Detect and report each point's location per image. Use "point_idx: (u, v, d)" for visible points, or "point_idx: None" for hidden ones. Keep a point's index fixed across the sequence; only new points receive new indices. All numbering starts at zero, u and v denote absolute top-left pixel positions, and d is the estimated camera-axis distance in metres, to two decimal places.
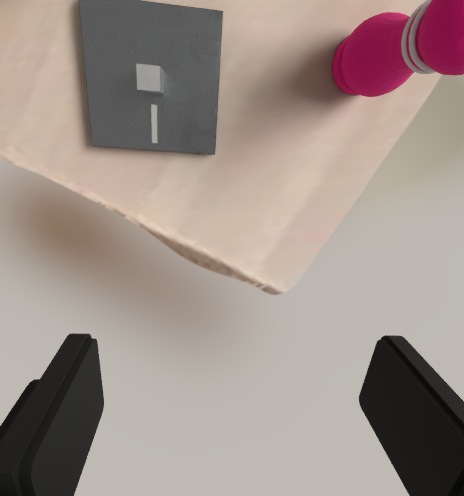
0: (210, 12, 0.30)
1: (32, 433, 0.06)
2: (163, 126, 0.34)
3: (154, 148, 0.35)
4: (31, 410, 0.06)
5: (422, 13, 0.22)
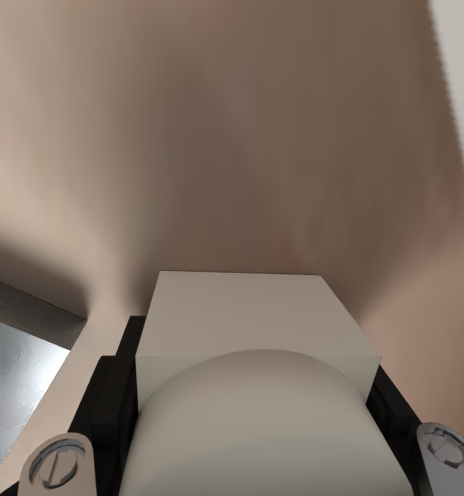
0: None
1: (123, 394, 0.07)
2: None
3: None
4: (117, 376, 0.07)
5: None
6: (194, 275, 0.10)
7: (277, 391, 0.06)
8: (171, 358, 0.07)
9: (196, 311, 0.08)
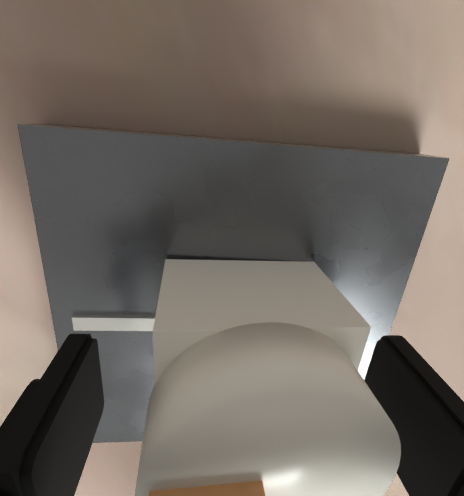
0: None
1: (33, 433, 0.06)
2: (125, 341, 0.12)
3: (57, 319, 0.12)
4: (32, 410, 0.06)
5: None
6: (197, 263, 0.11)
7: (282, 355, 0.06)
8: (184, 332, 0.07)
9: (203, 293, 0.09)
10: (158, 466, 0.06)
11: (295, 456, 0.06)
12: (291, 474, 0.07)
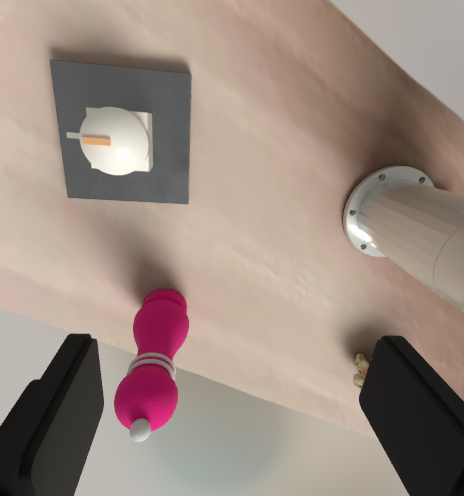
0: (186, 194, 0.36)
1: (32, 433, 0.06)
2: None
3: (61, 133, 0.33)
4: (31, 410, 0.06)
5: (160, 364, 0.31)
6: None
7: None
8: (94, 109, 0.28)
9: None
10: (84, 127, 0.27)
11: (117, 130, 0.27)
12: (117, 137, 0.28)
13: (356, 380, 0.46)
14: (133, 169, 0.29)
